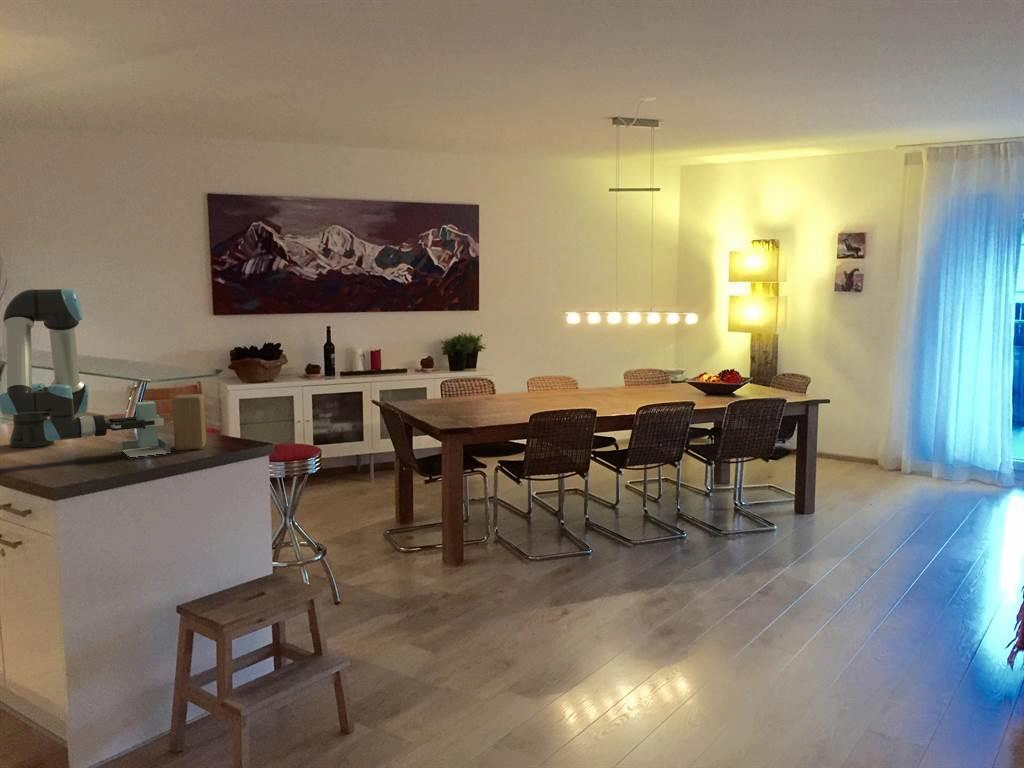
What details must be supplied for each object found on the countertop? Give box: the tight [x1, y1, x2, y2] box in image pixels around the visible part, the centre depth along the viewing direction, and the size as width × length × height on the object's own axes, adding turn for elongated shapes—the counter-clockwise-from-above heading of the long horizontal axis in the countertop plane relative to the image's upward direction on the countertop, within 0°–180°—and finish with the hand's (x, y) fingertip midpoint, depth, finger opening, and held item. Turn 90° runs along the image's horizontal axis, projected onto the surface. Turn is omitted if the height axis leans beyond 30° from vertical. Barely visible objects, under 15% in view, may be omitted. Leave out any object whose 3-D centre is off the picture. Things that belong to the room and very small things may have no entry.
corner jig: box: [121, 436, 171, 458], centre depth 316 cm, size 14×14×4 cm
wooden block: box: [171, 393, 207, 451], centre depth 324 cm, size 10×10×20 cm
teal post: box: [135, 400, 159, 448], centre depth 316 cm, size 6×6×16 cm
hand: (161, 420), depth 319 cm, fingers closed on teal post, 6 cm apart
